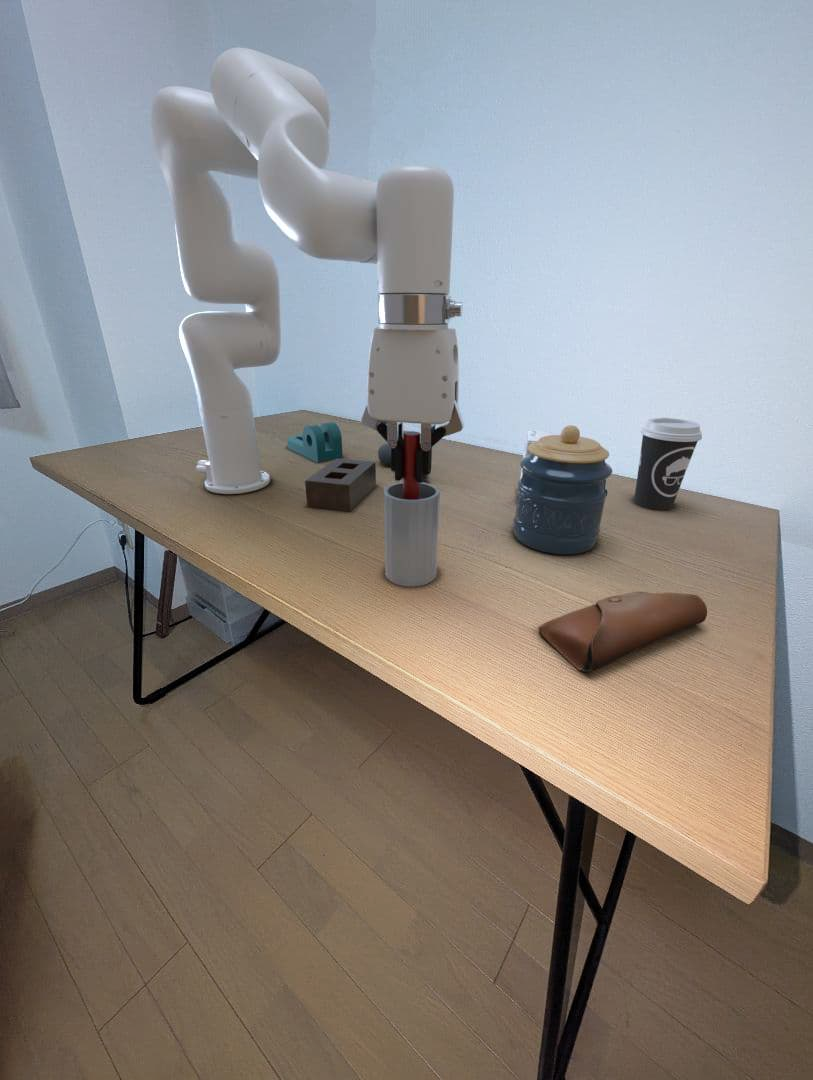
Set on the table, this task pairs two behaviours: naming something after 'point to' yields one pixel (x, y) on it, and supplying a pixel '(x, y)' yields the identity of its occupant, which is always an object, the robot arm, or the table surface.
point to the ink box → (533, 437)
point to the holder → (341, 484)
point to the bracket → (318, 442)
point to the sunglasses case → (620, 626)
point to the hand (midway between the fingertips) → (411, 477)
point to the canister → (562, 493)
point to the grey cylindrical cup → (411, 535)
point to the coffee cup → (664, 460)
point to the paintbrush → (387, 456)
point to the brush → (410, 465)
